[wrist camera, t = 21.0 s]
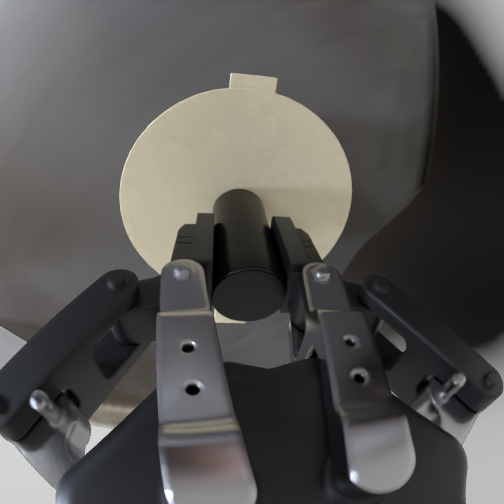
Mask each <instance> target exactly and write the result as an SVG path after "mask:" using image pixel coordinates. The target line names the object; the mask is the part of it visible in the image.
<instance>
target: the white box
mask: <svg viewBox="0 0 504 504" xmlns="http://www.w3.org/2000/svg"><path fill="white" fill-rule="evenodd" d="M26 343H27V341H25V340H23V339H21V338H20V337H18V336H16V335H15V334H13V333H11V332H10V331H8V330H6V329H5V328H3V327H2V326H0V369H1V368H2V367H3V366H4V365H5V364H6V363H7V362H8V361H9V360H10V359H11V358H12V357H13V356H14V355H15V354H16V353H17V352H18V351H19V350H20V349H21V348H22V347H23V346H24V345H25V344H26Z"/></svg>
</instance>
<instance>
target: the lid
mask: <svg viewBox="0 0 504 504" xmlns="http://www.w3.org/2000/svg"><path fill="white" fill-rule="evenodd" d="M351 198H352V179H351V174H350V168H349V164H348V161H347V158H346V155H345V153H344V150H343V149H342V147H341V145H340V143H339V141H338V139H337V138H336V136H335V135H334V134H333V132H332V131H331V130H330V128H329V127H328V126H327V125H326V124H325V123H324V122H323V121H322V120H321V119H320V118H319V117H318V116H317V115H316V114H314V113H313V112H312V111H310V110H309V109H308V108H306V107H305V106H303V105H302V104H300V103H298V102H296V101H294V100H292V99H290V98H288V97H286V96H283V95H280V94H277V93H274V92H271V91H267V90H261V89H255V88H243V87H231V88H222V89H215V90H211V91H207V92H203V93H200V94H196V95H194V96H192V97H190V98H187V99H185V100H183V101H181V102H179V103H177V104H176V105H174V106H172V107H171V108H169V109H168V110H166V111H165V112H163V113H162V114H161V115H160V116H159V117H158V118H156V119H155V120H154V121H153V122H152V123H151V124H150V125H149V126H148V127H147V128H146V129H145V131H144V132H143V133H142V134H141V135H140V137H139V138H138V140H137V141H136V143H135V144H134V146H133V148H132V149H131V151H130V153H129V156H128V158H127V161H126V163H125V165H124V169H123V173H122V177H121V183H120V209H121V214H122V219H123V223H124V226H125V229H126V231H127V234H128V236H129V238H130V240H131V242H132V244H133V245H134V247H135V248H136V250H137V251H138V253H139V254H140V255H141V257H142V258H143V259H144V260H145V261H146V262H147V263H148V264H149V265H150V266H151V267H152V268H153V269H154V270H156V271H157V272H158V273H159V274H161V270H162V268H163V267H164V266H165V265H166V264H167V263H169V262H170V261H171V257H172V253H173V249H174V245H175V241H176V238H177V233H178V229H180V228H181V227H182V226H183V225H184V224H196V220H197V214H198V213H214V238H213V275H212V293H211V300H212V304H213V306H214V308H215V309H216V311H217V312H218V313H220V314H221V315H222V316H224V317H226V318H228V319H231V320H235V321H242V322H249V321H256V320H260V319H264V318H266V317H268V316H270V315H272V314H274V313H275V312H276V311H278V310H279V309H280V308H281V306H282V303H283V299H285V297H286V293H287V288H286V282H285V279H284V275H283V271H282V268H281V264H280V261H279V257H278V254H277V251H276V247H275V244H274V240H273V237H272V234H271V230H270V226H271V220H272V217H273V216H281V217H290V218H291V220H292V222H293V224H294V226H295V228H301V229H302V230H304V231H305V232H306V233H307V234H309V236H310V238H311V240H312V243H313V244H314V246H315V248H316V249H317V251H318V253H319V255H320V257H321V259H323V258H324V257H325V256H326V255H327V254H328V253H329V252H330V250H331V249H332V248H333V246H334V245H335V243H336V242H337V240H338V238H339V237H340V235H341V233H342V231H343V229H344V226H345V224H346V221H347V219H348V215H349V211H350V207H351Z"/></svg>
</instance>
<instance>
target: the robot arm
mask: <svg viewBox="0 0 504 504" xmlns="http://www.w3.org/2000/svg"><path fill="white" fill-rule="evenodd" d="M270 230H271V234H272V237H273V240H274V244H275V247H276V251H277V254H278V257H279V261H280V264H281V268H282V271H283V275H284V279H285V282H286V288H287V293H286V297H285V299H283V303H282V306H281V308H280V313H290V316H291V317H290V320H289V324H288V332H289V345H290V358H291V363H289V364H286V365H282V366H279V367H276V368H271V369H266V368H260V367H255V366H249V365H244V364H239V363H234V362H223V359H222V354H221V349H220V344H219V339H218V334H217V329H216V323H215V318H214V313H213V310H212V300H211V293H212V275H213V238H214V213H198V214H197V220H196V224H184V225H183V226H182V227H181V228H180V229H178V233H177V238H176V241H175V245H174V249H173V253H172V257H171V261H170V262H169V263H167V264H166V265H165V266H164V267H163V268H162V270H161V275H159V276H157V277H154V278H151V279H145V280H140V281H138V278H137V276H136V275H135V274H134V273H133V272H131V271H128V270H122V269H121V270H113V271H110V272H108V273H106V274H104V275H103V276H102V277H100V278H99V279H98V280H97V281H95V282H94V283H93V284H92V285H91V286H89V287H88V288H87V289H86V290H85V291H83V292H82V293H81V294H80V295H79V296H78V297H76V298H75V299H74V300H73V301H72V302H71V303H69V304H68V305H67V306H66V307H65V308H64V309H63V310H62V311H60V312H59V313H58V314H57V315H56V316H55V317H54V318H53V319H52V320H50V321H49V322H48V323H47V324H46V325H45V326H44V327H43V328H42V329H41V330H40V331H39V332H38V333H36V334H35V335H34V336H33V337H32V338H31V339H30V340H29V341H28V342H27V343H26V344H25V345H24V346H23V347H22V348H21V349H20V350H19V351H18V352H17V353H16V354H15V355H14V356H13V357H12V358H11V359H10V360H9V361H8V362H7V363H6V364H5V365H4V366H3V367H2V368H1V369H0V434H1V436H2V437H3V438H4V439H6V440H7V441H9V442H10V443H12V444H13V445H15V446H16V448H17V449H18V450H19V451H20V453H21V454H22V455H23V456H24V457H25V458H26V460H27V461H28V462H29V463H30V464H31V465H32V466H33V467H34V468H35V470H36V471H37V472H38V473H39V474H40V475H41V476H42V477H43V478H44V479H45V480H46V481H47V482H48V483H49V484H50V485H51V486H52V487H53V488H54V489H56V504H466V496H465V493H466V477H467V458H466V454H465V451H464V449H463V447H462V444H463V443H464V441H465V439H466V437H467V435H468V434H469V432H470V430H471V428H472V426H473V424H474V423H475V420H476V419H477V416H478V415H479V414H480V413H481V412H482V411H483V410H485V409H486V408H487V407H488V406H489V405H490V404H492V402H494V401H495V400H496V399H497V398H498V397H499V396H500V395H501V394H502V391H503V382H502V379H501V376H500V374H499V373H498V372H497V370H495V368H493V367H492V366H491V365H490V364H489V363H488V362H487V361H486V360H485V359H484V358H483V357H482V356H480V355H479V354H478V353H477V352H476V351H475V350H474V349H472V348H471V347H470V346H469V345H468V344H467V343H466V342H464V341H463V340H462V339H461V338H460V337H459V336H458V335H456V334H455V333H454V332H453V331H452V330H450V329H449V328H448V327H447V326H446V325H445V324H443V323H442V322H441V321H440V320H438V319H437V318H436V317H435V316H434V315H432V314H431V313H430V312H429V311H427V310H426V309H425V308H423V307H422V306H421V305H420V304H419V303H417V302H416V301H415V300H413V299H412V298H411V297H410V296H408V295H407V294H406V293H405V292H403V291H402V290H401V289H399V288H398V287H397V286H396V285H394V284H393V283H391V282H390V281H389V280H387V279H385V278H383V277H381V276H377V275H369V276H367V277H365V278H364V280H363V282H362V284H361V285H358V284H354V283H349V282H345V281H343V280H342V277H341V275H340V273H339V272H338V271H337V270H336V269H335V268H333V267H332V266H330V265H327V264H324V263H323V261H322V259H321V257H320V255H319V253H318V251H317V249H316V248H315V246H314V244H313V243H312V240H311V238H310V236H309V234H307V233H306V232H305V231H304V230H302V229H301V228H295V226H294V224H293V222H292V220H291V218H290V217H281V216H273V217H272V220H271V226H270ZM383 321H385V322H386V323H387V324H388V325H389V326H390V327H392V328H393V329H394V330H395V331H396V332H397V333H398V334H400V335H401V336H402V337H403V338H404V339H405V341H406V350H405V351H404V352H401V351H400V350H399V349H398V348H396V346H394V345H393V344H392V343H391V342H390V341H389V340H388V339H386V338H385V337H384V336H383V335H382V334H381V333H380V332H379V331H378V330H379V328H380V326H381V324H382V323H383ZM109 330H110V331H109ZM108 331H109V332H108ZM107 332H108V333H107ZM106 333H107V334H106ZM105 334H106V335H105ZM104 335H105V336H104ZM103 336H104V337H103ZM102 337H103V338H102ZM101 338H102V339H101ZM100 339H101V340H100ZM99 340H100V341H99ZM155 340H156V378H157V388H156V389H155V390H154V391H153V392H152V393H151V394H150V395H149V396H148V397H147V398H146V399H145V400H144V401H143V402H142V403H141V404H140V405H139V406H137V407H136V408H135V409H134V410H133V411H132V412H131V413H130V414H129V415H128V416H127V417H126V418H125V419H124V420H123V421H122V422H121V423H120V424H118V425H117V426H116V427H115V428H114V429H113V430H112V431H111V432H110V433H109V434H108V435H107V436H106V437H105V438H103V439H102V440H101V441H100V442H99V443H98V444H97V445H96V446H95V447H94V448H92V449H91V450H90V451H89V452H88V453H87V454H86V455H85V447H86V445H87V444H88V442H89V439H90V436H91V426H90V423H89V421H88V420H89V418H90V417H91V416H92V415H93V413H94V412H95V411H96V410H97V408H98V407H99V406H100V405H101V403H102V402H103V401H104V400H105V398H106V397H107V396H108V395H109V393H110V392H111V391H112V390H113V389H114V387H115V386H116V385H117V384H118V382H119V381H120V380H121V379H122V377H123V376H124V375H125V374H126V373H127V371H128V370H129V369H130V368H131V366H132V365H133V364H134V363H135V362H136V360H137V359H138V358H139V357H140V355H141V354H142V353H143V352H144V351H145V349H146V348H147V347H148V346H149V344H150V341H155ZM98 341H99V342H98ZM97 342H98V343H97ZM96 343H97V344H96ZM391 391H392V392H393V393H394V394H395V395H396V396H397V397H396V396H395V395H393V394H392V393H391Z"/></svg>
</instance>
